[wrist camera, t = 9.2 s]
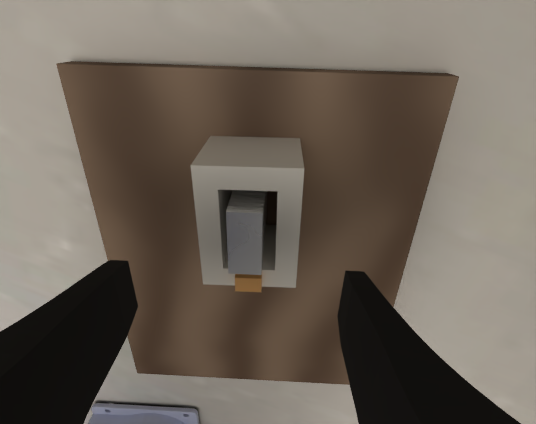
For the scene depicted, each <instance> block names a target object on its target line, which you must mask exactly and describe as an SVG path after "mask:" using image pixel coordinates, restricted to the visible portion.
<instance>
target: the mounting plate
mask: <svg viewBox="0 0 536 424" xmlns="http://www.w3.org/2000/svg"><path fill="white" fill-rule="evenodd" d="M57 68H58V72H59V76H60V79H61V83H62V87H63V91H64V95H65V99H66V102H67V106H68V110H69V114H70V118H71V121H72V125H73V129H74V133H75V137H76V141H77V144H78V148H79V152H80V156H81V160H82V163H83V167H84V171H85V175H86V179H87V183H88V186H89V190H90V194H91V198H92V202H93V205H94V209H95V213H96V217H97V221H98V225H99V228H100V232H101V236H102V240H103V244H104V247H105V251H106V255H107V259H108V261H109V260H124V261H128V263H129V267H130V272H131V276H132V281H133V285H134V290H135V294H136V298H137V303H138V308H137V311H136V314H135V317H134V320H133V323H132V325H131V328H130V330H129V333H128V339H129V343H130V347H131V351H132V354H133V358H134V362H135V366H136V370H137V373H144V374H162V375H181V376H200V377H218V378H237V379H255V380H274V381H292V382H311V383H330V384H348V385H350V383H349V379H348V375H347V370H346V366H345V362H344V357H343V353H342V349H341V343H340V335H339V326H338V317H337V315H338V309H339V304H340V298H341V292H342V287H343V281H344V275H345V271H364V272H365V273H366V274H367V275H368V277H369V278H370V279H371V280H372V282H373V283H374V284H375V285H376V287H377V288H378V289H379V291H380V292H381V293H382V294H383V296H384V297H385V298H386V299H387V300H388V302H389V303H390V304H391V305H392V307H393V306H394V303H395V299H396V296H397V292H398V289H399V285H400V282H401V278H402V275H403V271H404V268H405V264H406V261H407V257H408V254H409V250H410V247H411V243H412V240H413V236H414V233H415V229H416V226H417V222H418V219H419V215H420V212H421V208H422V205H423V201H424V198H425V194H426V191H427V187H428V184H429V180H430V177H431V173H432V170H433V166H434V163H435V159H436V156H437V152H438V149H439V145H440V142H441V138H442V135H443V131H444V128H445V124H446V121H447V117H448V114H449V110H450V107H451V103H452V100H453V96H454V93H455V89H456V86H457V82H458V79H459V76H455V75H451V74H448V73H420V72H388V71H357V70H325V69H294V68H262V67H231V66H199V65H168V64H136V63H105V62H73V61H71V62H64V63H58V64H57ZM210 136H232V137H271V138H300V142H301V149H302V156H303V162H304V181H303V195H302V209H301V223H300V237H299V250H298V264H297V278H296V288H286V287H262V290H261V292H240V291H235V285H209V284H203V279H202V269H201V260H200V250H199V241H198V231H197V222H196V212H195V203H194V194H193V184H192V175H191V164H192V162H193V161H194V159H195V158H196V156H197V155H198V154H199V152H200V151H201V149H202V148H203V146H204V145H205V143H206V142H207V140H208V139H209V137H210ZM277 194H278V191H267V218H266V225H277Z"/></svg>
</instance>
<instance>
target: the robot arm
mask: <svg viewBox="0 0 536 424" xmlns="http://www.w3.org/2000/svg"><path fill="white" fill-rule="evenodd" d="M137 308H138V303H137V298H136V294H135V290H134V285H133V281H132V276H131V272H130V267H129V263H128V261H124V260H109V261H107V262H106V263H104V264H103V265H101V266H100V267H98V268H97V269H95V270H94V271H92V272H91V273H90V274H88V275H87V276H85V277H84V278H82V279H81V280H80V281H78V282H77V283H75V284H74V285H72V286H71V287H69V288H68V289H66V290H65V291H64V292H62V293H61V294H59V295H58V296H56V297H55V298H53V299H52V300H50V301H49V302H47V303H46V304H44V305H43V306H41V307H39V308H38V309H36V310H35V311H33V312H32V313H30V314H29V315H27V316H25V317H24V318H22V319H21V320H19V321H18V322H16V323H14V324H13V325H11V326H9V327H8V328H6V329H4V330H2V331H1V332H0V424H83V423H84V421H85V418H86V416H87V414H88V412H89V410H90V408H91V405H92V403H93V401H94V399H95V397H96V395H97V393H98V392H99V390H100V388H101V386H102V384H103V382H104V380H105V378H106V376H107V374H108V372H109V371H110V369H111V367H112V365H113V363H114V361H115V359H116V357H117V355H118V353H119V351H120V349H121V347H122V345H123V343H124V341H125V339H126V337H127V335H128V333H129V330H130V328H131V325H132V323H133V320H134V317H135V314H136V311H137ZM337 317H338V326H339V335H340V343H341V349H342V353H343V357H344V362H345V366H346V370H347V375H348V379H349V383H350V387H351V391H352V396H353V400H354V404H355V408H356V413H357V417H358V422H359V424H521V423H519V422H518V421H516V420H515V419H514V418H512V417H511V416H510V415H508V414H507V413H506V412H504V411H503V410H502V409H501V408H499V407H498V406H497V405H495V404H494V403H493V402H492V401H490V400H489V399H488V398H487V397H485V396H484V395H483V394H482V393H480V392H479V391H478V390H477V389H475V388H474V387H473V386H472V385H471V384H469V383H468V382H467V381H466V380H465V379H464V378H462V377H461V376H460V375H459V374H458V373H457V372H456V371H455V370H453V369H452V368H451V367H450V366H449V365H448V364H447V363H446V362H445V361H444V360H442V359H441V358H440V357H439V356H438V355H437V354H436V353H435V352H434V351H433V350H432V349H431V348H430V347H429V346H428V345H427V344H426V343H425V342H424V341H423V340H422V339H421V338H420V337H419V336H418V335H417V334H416V333H415V331H414V330H413V329H412V328H411V327H410V326H409V325H408V324H407V323H406V322H405V320H404V319H403V318H402V317H401V316H400V315H399V313H398V312H397V311H396V310H395V309H394V308H393V307H392V305H391V304H390V303H389V302H388V300H387V299H386V298H385V297H384V296H383V294H382V293H381V292H380V291H379V289H378V288H377V287H376V285H375V284H374V283H373V282H372V280H371V279H370V278H369V277H368V275H367V274H366V273H365V272H364V271H345V275H344V281H343V287H342V292H341V298H340V304H339V309H338V315H337ZM91 410H92V412H93V415H92V417H91V419H90V421H89V423H88V424H199V416H198V411H197V410H196V409H193V408H177V407H159V406H142V405H124V404H106V403H95V404H93V406H92V408H91Z"/></svg>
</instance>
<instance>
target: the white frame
mask: <svg viewBox="0 0 536 424" xmlns="http://www.w3.org/2000/svg"><path fill="white" fill-rule="evenodd" d="M191 175H192V184H193V194H194V203H195V212H196V222H197V231H198V241H199V250H200V260H201V269H202V279H203V284H209V285H235V291H240V292H261V290H262V287H286V288H296V278H297V264H298V250H299V237H300V223H301V209H302V195H303V181H304V162H303V156H302V149H301V142H300V138H271V137H232V136H210V137H209V139H208V140H207V142H206V143H205V145H204V146H203V148H202V149H201V151H200V152H199V154H198V155H197V156H196V158H195V159H194V161H193V162H192V164H191ZM233 190H250V191H278V194H277V225H266V229H265V240H264V251H263V263H262V274H261V275H249V274H228V250H227V226H226V210H227V207H228V204H229V200H230V197H231V194H232V191H233Z"/></svg>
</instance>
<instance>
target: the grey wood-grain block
mask: <svg viewBox="0 0 536 424" xmlns="http://www.w3.org/2000/svg"><path fill="white" fill-rule="evenodd" d="M266 218H267V191H250V190H233V191H232V194H231V197H230V200H229V204H228V207H227V210H226V226H227V250H228V274H249V275H261V274H262V263H263V251H264V240H265V229H266Z"/></svg>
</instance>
